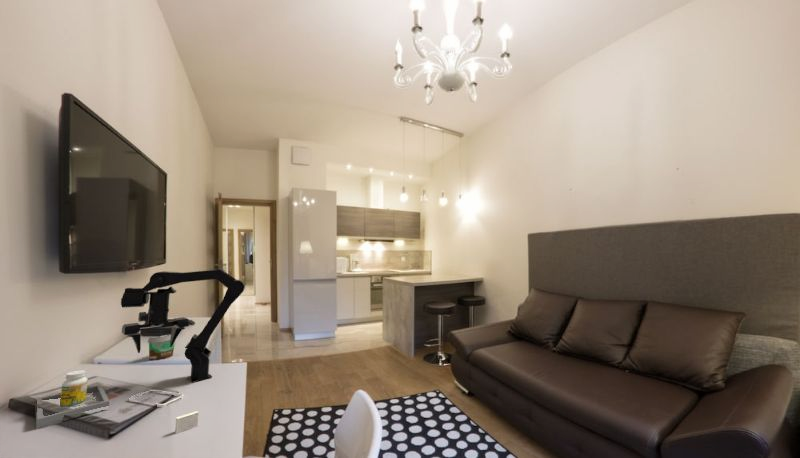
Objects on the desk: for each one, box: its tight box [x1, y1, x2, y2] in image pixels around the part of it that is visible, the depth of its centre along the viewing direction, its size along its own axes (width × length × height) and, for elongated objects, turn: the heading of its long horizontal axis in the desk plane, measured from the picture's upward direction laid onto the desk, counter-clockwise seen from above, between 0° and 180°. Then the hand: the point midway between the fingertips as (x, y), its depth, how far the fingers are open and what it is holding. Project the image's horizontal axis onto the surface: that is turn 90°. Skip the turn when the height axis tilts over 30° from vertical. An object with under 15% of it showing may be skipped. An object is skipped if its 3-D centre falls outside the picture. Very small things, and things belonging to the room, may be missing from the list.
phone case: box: [128, 389, 185, 408], centre depth 99 cm, size 7×1×15 cm
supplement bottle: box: [60, 369, 89, 408], centre depth 92 cm, size 5×5×10 cm
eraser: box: [174, 410, 200, 434], centre depth 82 cm, size 1×5×4 cm, turn 137°
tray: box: [35, 384, 110, 430], centre depth 92 cm, size 18×14×2 cm
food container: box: [147, 333, 176, 361], centre depth 139 cm, size 12×6×10 cm, turn 168°
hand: (155, 349), depth 111 cm, fingers open, 9 cm apart
